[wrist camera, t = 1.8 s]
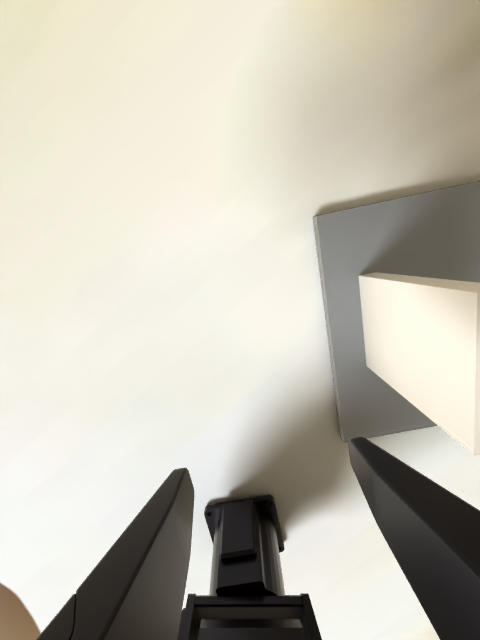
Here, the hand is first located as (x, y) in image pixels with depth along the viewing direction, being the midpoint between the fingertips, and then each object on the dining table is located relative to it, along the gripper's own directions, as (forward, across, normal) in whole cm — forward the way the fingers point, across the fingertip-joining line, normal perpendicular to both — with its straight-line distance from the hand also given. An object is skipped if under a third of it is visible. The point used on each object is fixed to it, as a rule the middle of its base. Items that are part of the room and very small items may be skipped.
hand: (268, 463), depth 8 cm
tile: (+11, -9, 0) cm, 14 cm away
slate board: (+12, -14, +1) cm, 18 cm away
